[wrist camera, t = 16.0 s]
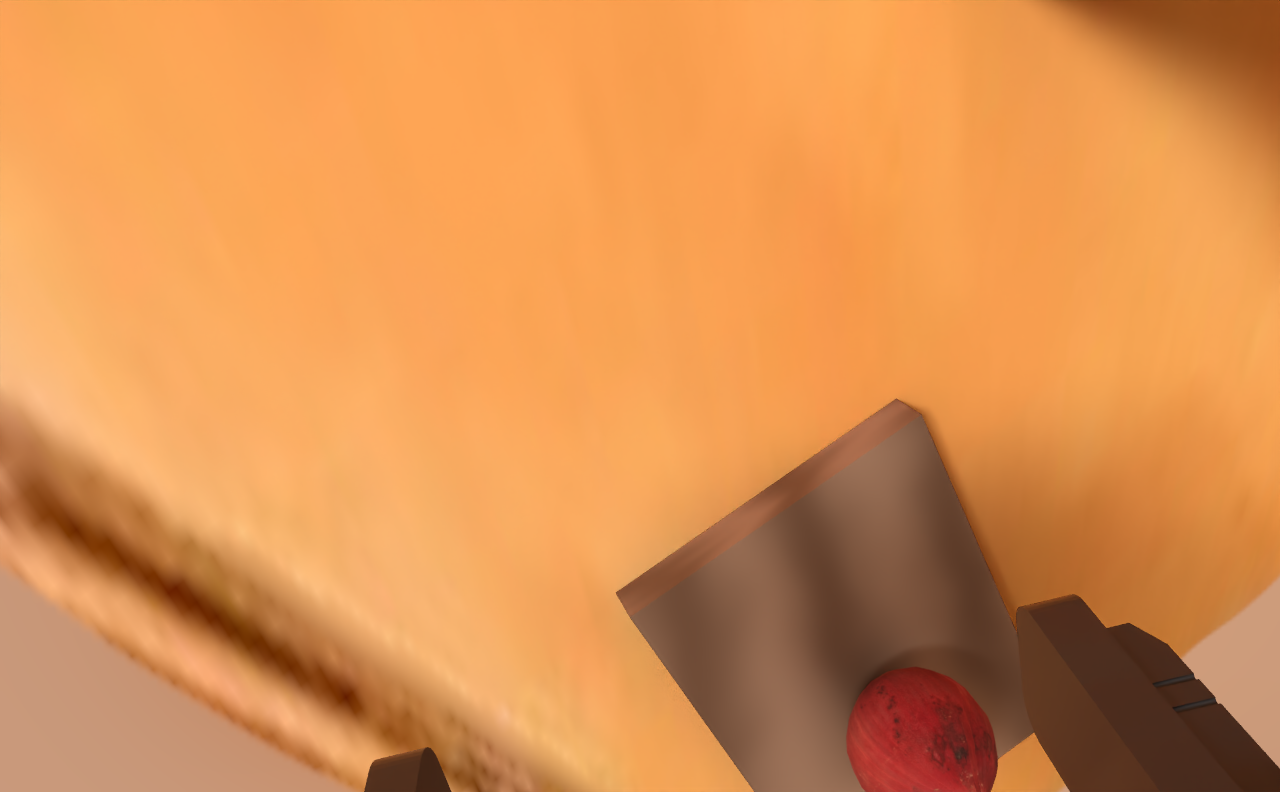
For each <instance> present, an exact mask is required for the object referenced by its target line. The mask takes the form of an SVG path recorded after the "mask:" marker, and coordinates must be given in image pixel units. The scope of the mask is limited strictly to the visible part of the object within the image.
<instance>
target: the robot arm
mask: <svg viewBox="0 0 1280 792" xmlns="http://www.w3.org/2000/svg"><path fill="white" fill-rule="evenodd" d="M1016 624H1017V634H1018V645H1019V656H1020V667H1021V678H1022V689H1023V697H1024V702H1025V706H1026V710H1027V714H1028V717H1029V720H1030V723H1031V725H1032V728H1033V730H1034V732H1035V734H1036V736H1037V738H1038V740H1039V742H1040V744H1041V746H1042V747H1043V749H1044V751H1045V752H1046V754H1047V755H1048V757H1049V759H1050V760H1051V762H1052V763H1053V765H1054V767H1055V768H1056V770H1057V771H1058V773H1059V775H1060V776H1061V778H1062V779H1063V781H1064V783H1065V784H1066V786H1067V787H1068V789H1069V790H1070V792H1280V769H1279V767H1278V766H1277V765H1276V764H1275V763H1274V762H1273V761H1272V760H1271V759H1270V757H1269V756H1268V755H1267V754H1266V753H1265V752H1264V751H1263V750H1262V749H1261V747H1260V746H1259V745H1258V744H1257V743H1256V742H1255V741H1254V740H1253V739H1252V737H1251V736H1250V735H1249V734H1248V733H1247V732H1246V731H1245V730H1244V729H1243V727H1242V726H1241V725H1240V724H1239V723H1238V722H1237V721H1236V720H1235V719H1234V718H1233V716H1231V714H1230V713H1229V712H1228V711H1227V710H1226V709H1225V708H1224V706H1223V705H1222V704H1218V703H1217V702H1216V699H1215V696H1214V695H1213V694H1212V693H1211V692H1210V691H1209V690H1208V689H1207V688H1206V686H1205V685H1204V684H1203V683H1202V682H1201V681H1200V680H1199V679H1198V680H1196V679H1195V677H1194V673H1193V672H1192V671H1191V670H1190V669H1189V668H1188V667H1187V666H1186V664H1184V662H1183V661H1182V660H1181V659H1180V658H1179V657H1178V655H1177V654H1176V653H1175V652H1174V651H1173V650H1172V649H1171V648H1170V647H1169V645H1168V644H1166V643H1164V642H1162V641H1161V640H1159V639H1157V638H1155V637H1153V636H1152V635H1150V634H1148V633H1146V632H1144V631H1143V630H1141V629H1139V628H1137V627H1136V626H1134V625H1132V624H1130V623H1126V624H1122V625H1118V626H1114V627H1110V628H1106V627H1105V626H1104V625H1103V624H1102V623H1101V621H1100V620H1099V619H1098V618H1097V617H1096V615H1095V614H1094V613H1093V612H1092V611H1091V609H1090V608H1089V607H1088V606H1087V605H1086V603H1085V602H1084V601H1083V600H1082V599H1081V598H1080V597H1079V596H1077V595H1075V594H1072V595H1068V596H1063V597H1059V598H1055V599H1051V600H1047V601H1043V602H1039V603H1034V604H1030V605H1026V606H1022V607H1019V608H1018V609H1017V613H1016ZM364 792H451V790H450V787H449V785H448V783H447V780H446V778H445V776H444V773H443V771H442V768H441V766H440V764H439V761H438V759H437V757H436V755H435V753H434V752H433V750H432V749H431V748H428V747H427V748H423V749H418V750H414V751H410V752H406V753H402V754H398V755H393V756H389V757H385V758H381V759H377V760H375V761H374V762H373V763H372V764H371V766H370V770H369V773H368V778H367V782H366V786H365V791H364Z"/></svg>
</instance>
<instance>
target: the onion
mask: <svg viewBox="0 0 1280 792" xmlns="http://www.w3.org/2000/svg"><path fill="white" fill-rule="evenodd" d="M846 743H847V754H848V757H849V760H850V762H851V765H852V768H853V771H854V773H855V775H856V777H857V779H858V781H859V783H860V785H861V787H862V788H863V789H864V790H865V791H866V792H991V789H992V787H993V784H994V781H995V778H996V774H997V767H998V756H997V749H996V743H995V738H994V733H993V729H992V726H991V724H990V721H989V719H988V716H987V715H986V713H985V712H984V711H983V710H982V708H981V707H980V706H979V704H978V703H977V702H976V701H975V699H974V698H973V697H972V696H971V695H970V693H969V692H968V691H967V690H966V688H965V687H963V686H962V685H960V684H959V683H958V682H956V681H955V680H953V679H952V678H951V677H949V676H946V675H943V674H940V673H938V672H935V671H932V670H929V669H925V668H920V667H909V668H902V669H895V670H892V671H888V672H886V673H884V674H883V675H881V676H879V677H878V678H876V679H874V680H873V681H871V682H870V683H869V684H868V685H867V687H866V688H865V689H864V690H863V691H862V692H861V694H860V695H859V697H858V699H857V701H856V703H855V705H854V708H853V710H852V712H851V714H850V717H849V721H848V728H847V734H846Z"/></svg>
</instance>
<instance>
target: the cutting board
mask: <svg viewBox="0 0 1280 792" xmlns="http://www.w3.org/2000/svg"><path fill="white" fill-rule="evenodd" d="M616 594H617V596H618V598H619V599H620V601H621V603H622V605H623V606H624V608H625V610H626V611H627V613H628V615H629V617H630V618H631V620H632V621H633V622H634V624H635V625H636V627H637V628H638V629H639V631H640V632H641V634H642V635H643V636H644V638H645V639H646V641H647V642H648V643H649V645H650V646H651V648H652V649H653V650H654V652H655V653H656V655H657V656H658V657H659V659H660V660H661V662H662V663H663V664H664V666H665V667H666V669H667V670H668V671H669V673H670V674H671V676H672V677H673V678H674V680H675V681H676V683H677V684H678V685H679V687H680V688H681V690H682V691H683V692H684V694H685V695H686V697H687V698H688V699H689V701H690V702H691V704H692V705H693V706H694V708H695V709H696V711H697V712H698V713H699V715H700V716H701V718H702V719H703V720H704V722H705V723H706V725H707V726H708V727H709V729H710V730H711V732H712V733H713V734H714V736H715V737H716V739H717V740H718V741H719V743H720V744H721V746H722V747H723V748H724V750H725V751H726V753H727V754H728V755H729V757H730V758H731V760H732V761H733V762H734V764H735V765H736V767H737V768H738V769H739V771H740V772H741V774H742V775H743V776H744V778H745V779H746V781H747V782H748V783H749V785H750V786H751V788H752V789H753V790H754V792H866V791H865V790H864V789H863V788H862V787H861V785H860V783H859V781H858V779H857V777H856V775H855V773H854V771H853V768H852V765H851V762H850V760H849V757H848V754H847V743H846V734H847V728H848V721H849V717H850V714H851V712H852V710H853V708H854V705H855V703H856V701H857V699H858V697H859V695H860V694H861V692H862V691H863V690H864V689H865V688H866V687H867V685H868V684H869V683H870V682H871V681H873V680H874V679H876V678H878V677H879V676H881V675H883V674H884V673H886V672H888V671H892V670H895V669H902V668H909V667H920V668H925V669H929V670H932V671H935V672H938V673H940V674H943V675H946V676H949V677H951V678H952V679H953V680H955V681H956V682H958V683H959V684H960V685H962V686H963V687H965V688H966V690H967V691H968V692H969V693H970V695H971V696H972V697H973V698H974V699H975V701H976V702H977V703H978V704H979V706H980V707H981V708H982V710H983V711H984V712H985V713H986V715H987V716H988V719H989V721H990V724H991V726H992V729H993V733H994V738H995V743H996V749H997V756H998V759H999V758H1000V757H1001V756H1003V755H1004V754H1005V753H1007V752H1008V751H1009V750H1011V749H1012V748H1014V747H1015V746H1016V745H1018V744H1019V743H1020V742H1022V741H1023V740H1024V739H1026V738H1027V737H1028V736H1030V735H1031V734H1032V733H1034V730H1033V728H1032V725H1031V723H1030V720H1029V717H1028V714H1027V710H1026V706H1025V702H1024V697H1023V689H1022V678H1021V667H1020V656H1019V645H1018V635H1017V632H1016V630H1015V628H1014V625H1013V623H1012V621H1011V619H1010V616H1009V614H1008V612H1007V609H1006V607H1005V605H1004V602H1003V600H1002V598H1001V596H1000V593H999V591H998V589H997V586H996V584H995V582H994V580H993V577H992V575H991V573H990V570H989V568H988V566H987V564H986V561H985V559H984V557H983V554H982V552H981V550H980V548H979V545H978V543H977V541H976V538H975V536H974V534H973V531H972V529H971V527H970V525H969V522H968V520H967V518H966V515H965V513H964V511H963V509H962V506H961V504H960V502H959V499H958V497H957V495H956V493H955V490H954V488H953V486H952V483H951V481H950V479H949V476H948V474H947V472H946V470H945V467H944V465H943V463H942V460H941V458H940V456H939V454H938V451H937V449H936V447H935V444H934V442H933V440H932V438H931V435H930V433H929V431H928V428H927V426H926V424H925V422H924V419H923V417H922V415H921V414H920V413H918V412H917V411H915V410H913V409H912V408H910V407H909V406H907V405H905V404H904V403H902V402H901V401H899V400H898V399H895V400H894V401H892V402H891V403H890V404H888V405H887V406H885V407H884V408H882V409H881V410H879V411H878V412H877V413H875V414H874V415H872V416H871V417H869V418H868V419H866V420H865V421H864V422H862V423H861V424H859V425H858V426H856V427H855V428H853V429H852V430H851V431H849V432H848V433H846V434H845V435H843V436H842V437H840V438H839V439H838V440H836V441H835V442H833V443H832V444H830V445H829V446H827V447H826V448H825V449H823V450H822V451H820V452H819V453H817V454H816V455H814V456H813V457H812V458H810V459H809V460H807V461H806V462H804V463H803V464H801V465H800V466H799V467H797V468H796V469H794V470H793V471H791V472H790V473H788V474H787V475H785V476H784V477H783V478H781V479H780V480H778V481H777V482H775V483H774V484H772V485H771V486H770V487H768V488H767V489H765V490H764V491H762V492H761V493H759V494H758V495H757V496H755V497H754V498H752V499H751V500H749V501H748V502H746V503H745V504H744V505H742V506H741V507H739V508H738V509H736V510H735V511H733V512H732V513H731V514H729V515H728V516H726V517H725V518H723V519H722V520H720V521H719V522H718V523H716V524H715V525H713V526H712V527H710V528H709V529H707V530H706V531H705V532H703V533H702V534H700V535H699V536H697V537H696V538H694V539H693V540H692V541H690V542H689V543H687V544H686V545H684V546H683V547H681V548H680V549H678V550H677V551H676V552H674V553H673V554H671V555H670V556H668V557H667V558H665V559H664V560H663V561H661V562H660V563H658V564H657V565H655V566H654V567H652V568H651V569H650V570H648V571H647V572H645V573H644V574H642V575H641V576H639V577H638V578H637V579H635V580H634V581H632V582H631V583H629V584H628V585H626V586H625V587H624V588H622V589H621V590H619V591H618V592H616Z"/></svg>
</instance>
